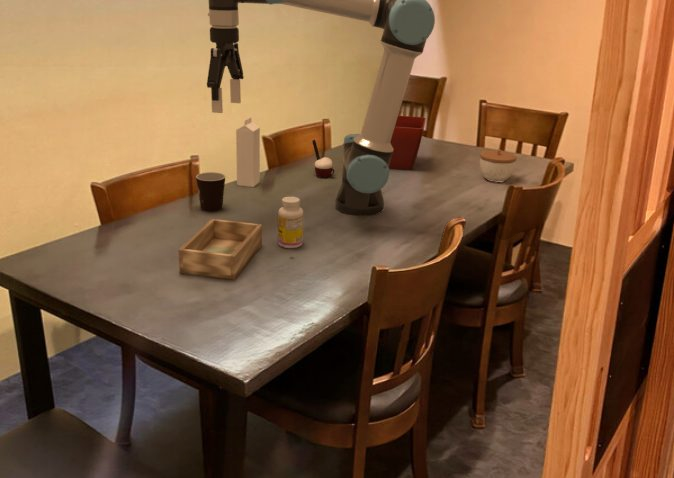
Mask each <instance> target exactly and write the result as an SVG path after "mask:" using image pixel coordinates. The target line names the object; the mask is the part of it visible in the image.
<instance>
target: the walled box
mask: <svg viewBox="0 0 674 478" xmlns="http://www.w3.org/2000/svg"><path fill="white" fill-rule="evenodd" d="M261 247H263V224H260V223H254V222H253V223H251V222H243V221H242V222H241V221H233V220H225V219H216V218H211V219H210V220H209V221H208V222H206V224H204V225H203V226H202V227H201V228H200V229H199V230H198V231H197V232H196V233H195V234H194V235H193V236H192V237H190V238H189V239H188V240H187V241H186V242H185V243H184V244H183V245H182V246H181V247H179V249H178V266H179V267H178V268H179V273H181V274H187V275H194V276H204V277H211V278H218V279H219V278H220V279H226V280H234V281H235V280H236V279H237V278H238V276H239V275H240V274H241V273H242V272H243V270H244V269H245V268H246V266H247V265H248V264H249V262H251V260H252V259H253V257H254V256H255V255H256V254H257V253H258V251H259V249H261Z"/></svg>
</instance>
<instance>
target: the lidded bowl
mask: <svg viewBox="0 0 674 478" xmlns="http://www.w3.org/2000/svg"><path fill="white" fill-rule="evenodd" d="M516 161H517V156H516V154H513V153H512V152H508V151H504V150H503V151H502V149H497V150H484V151H482V152H480V155H479V170H480V173H481V175H482V176H483V177H484V179H485V178H486V179H489V180H493V181H504V180H505V181H507V179H509V178H511V176H512V175H513V172H514V170H515V167H516ZM486 179H485V180H486Z"/></svg>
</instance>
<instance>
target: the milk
mask: <svg viewBox="0 0 674 478" xmlns="http://www.w3.org/2000/svg"><path fill="white" fill-rule="evenodd" d="M260 131H261V128H260V127H259V125H257V124H255V123H254V122H252V117H249V118H247V119H245V120H244V124H243V125H242V126H240V127H239V128H236V130H235V133H236V134H235V136H236V137H235V140H236V142H235V144H236V186H241V187H247V188H248V187H250V188H254V187H255V186H256V185H258V184H259V183H260V181H261V179H260V178H261V177H260V176H261V175H260V173H261V171H260V166H261V165H260V161H261V160H260V159H261V158H260V157H261V156H260V155H261V154H260V146H261V145H260V143H261V142H260V140H261V139H260V137H261V136H260V134H261V133H260Z"/></svg>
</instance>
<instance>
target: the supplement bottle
mask: <svg viewBox="0 0 674 478" xmlns="http://www.w3.org/2000/svg"><path fill="white" fill-rule="evenodd" d="M281 204H282V206H281V207H280V208H279V209H278V212H277V213H278V214H277V216H278V217H277V218H278V221H277V243H278V245H279V246H280V247H282V248H285V249H297V248H299V247H301V246H302V245H303V241H304V240H303V239H304V235H303V234H304V210H303V208H302V207H300V206H301V200H300V198H299V197H297V196H285V197H283V198H281Z"/></svg>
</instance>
